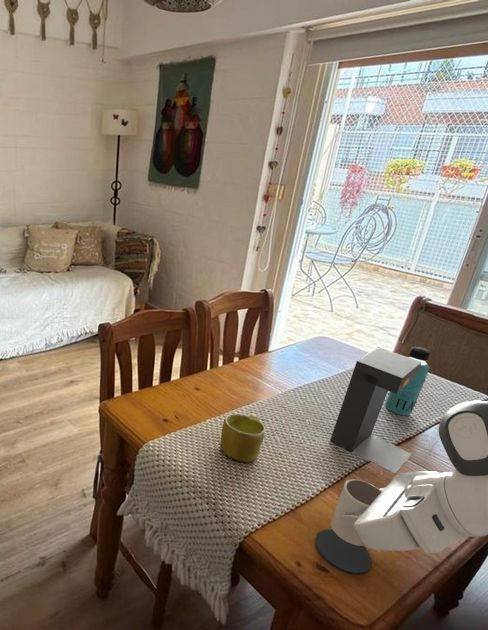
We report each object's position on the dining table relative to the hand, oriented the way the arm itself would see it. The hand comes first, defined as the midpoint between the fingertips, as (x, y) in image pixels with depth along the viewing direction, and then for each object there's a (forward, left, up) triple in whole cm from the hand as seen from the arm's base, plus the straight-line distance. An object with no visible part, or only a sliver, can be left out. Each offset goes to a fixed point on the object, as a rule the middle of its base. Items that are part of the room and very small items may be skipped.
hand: (354, 509), depth 78 cm
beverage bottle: (+36, -47, -10) cm, 61 cm away
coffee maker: (+23, -27, -10) cm, 38 cm away
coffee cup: (0, 0, -5) cm, 5 cm away
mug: (+28, +4, -10) cm, 31 cm away
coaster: (-1, 0, -10) cm, 10 cm away
